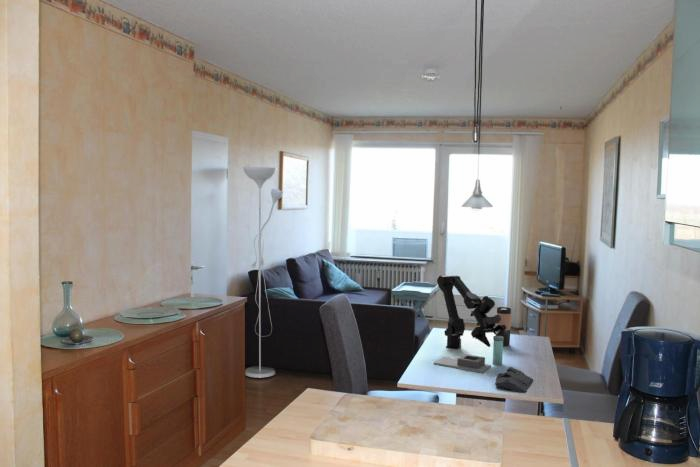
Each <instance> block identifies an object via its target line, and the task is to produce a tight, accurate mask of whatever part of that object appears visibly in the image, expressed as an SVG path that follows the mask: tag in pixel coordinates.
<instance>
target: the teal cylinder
mask: <svg viewBox="0 0 700 467" xmlns="http://www.w3.org/2000/svg"><path fill="white" fill-rule="evenodd" d="M492 340H493V349H492V351H493V352H492V364H493V365H495V366H501V365H503V350H504V346H503V340H504V337H502V336H495V335H494V336H493V339H492Z"/></svg>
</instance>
